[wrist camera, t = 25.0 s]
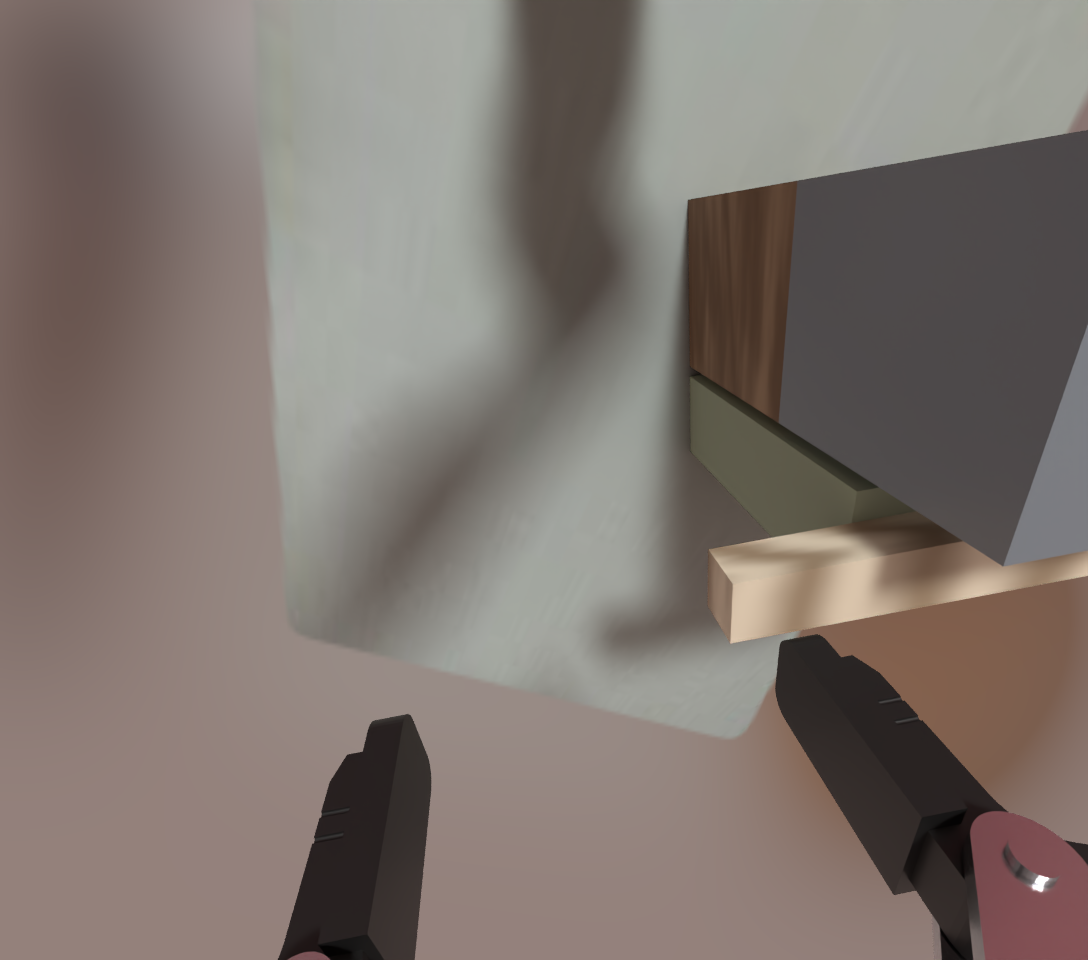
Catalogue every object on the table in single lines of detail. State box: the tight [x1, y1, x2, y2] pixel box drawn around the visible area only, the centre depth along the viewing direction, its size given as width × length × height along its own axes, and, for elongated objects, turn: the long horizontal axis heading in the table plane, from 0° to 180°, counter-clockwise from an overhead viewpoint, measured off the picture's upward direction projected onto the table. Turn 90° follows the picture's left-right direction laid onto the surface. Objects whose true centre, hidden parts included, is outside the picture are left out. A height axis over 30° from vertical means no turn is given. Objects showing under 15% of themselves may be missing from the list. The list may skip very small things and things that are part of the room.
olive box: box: [690, 374, 915, 538], centre depth 39 cm, size 14×8×24 cm, turn 98°
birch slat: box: [708, 511, 1088, 644], centre depth 27 cm, size 20×4×3 cm, turn 98°
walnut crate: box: [688, 181, 797, 423], centre depth 37 cm, size 14×14×16 cm
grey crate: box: [779, 130, 1088, 567], centre depth 23 cm, size 14×14×16 cm
